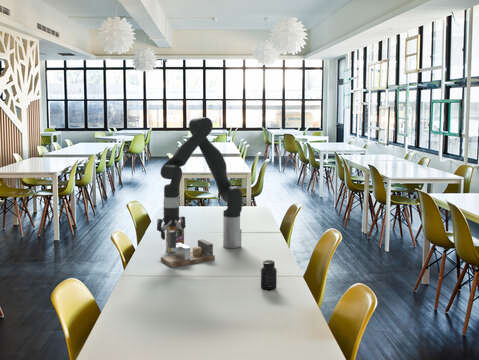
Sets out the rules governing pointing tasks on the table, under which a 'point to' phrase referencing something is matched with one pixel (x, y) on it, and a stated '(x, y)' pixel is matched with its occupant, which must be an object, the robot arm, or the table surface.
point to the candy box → (178, 239)
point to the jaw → (178, 246)
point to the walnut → (196, 251)
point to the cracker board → (191, 256)
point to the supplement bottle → (268, 276)
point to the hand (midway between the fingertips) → (171, 238)
